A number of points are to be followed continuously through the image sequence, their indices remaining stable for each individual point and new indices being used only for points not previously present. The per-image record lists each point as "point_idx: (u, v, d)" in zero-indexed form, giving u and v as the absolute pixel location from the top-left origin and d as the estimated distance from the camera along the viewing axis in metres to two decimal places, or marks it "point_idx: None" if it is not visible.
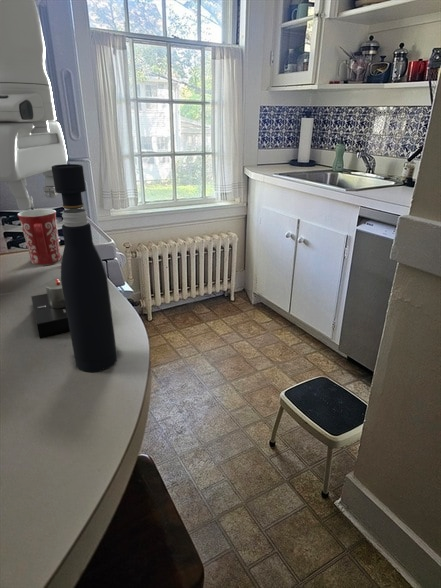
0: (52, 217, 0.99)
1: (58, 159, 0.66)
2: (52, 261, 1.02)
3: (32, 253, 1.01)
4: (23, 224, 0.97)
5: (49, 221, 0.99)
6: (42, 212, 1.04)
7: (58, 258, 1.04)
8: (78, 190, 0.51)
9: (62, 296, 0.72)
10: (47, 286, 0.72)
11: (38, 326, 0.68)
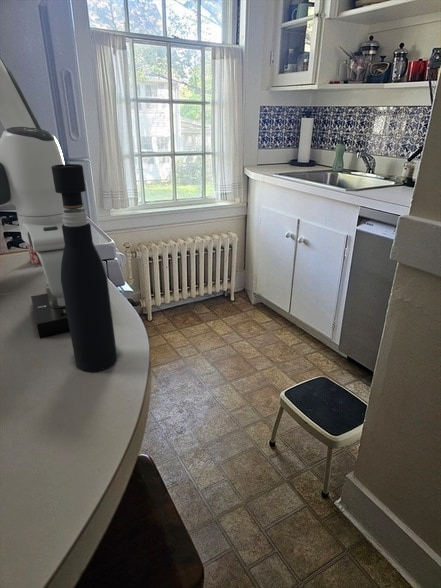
0: None
1: None
2: None
3: (32, 253, 1.01)
4: None
5: None
6: None
7: None
8: (78, 190, 0.51)
9: None
10: (47, 286, 0.72)
11: (38, 326, 0.68)
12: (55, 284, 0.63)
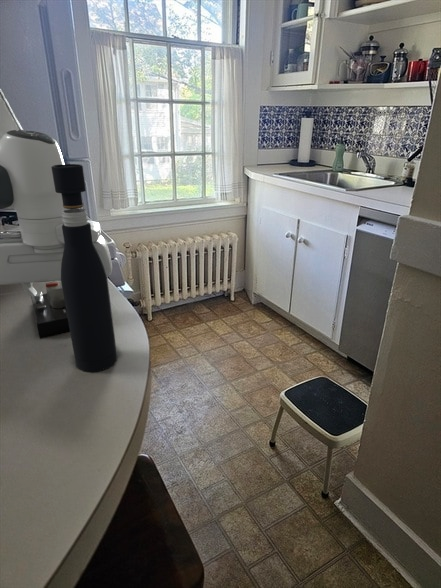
0: None
1: None
2: None
3: None
4: None
5: None
6: None
7: None
8: (78, 190, 0.51)
9: None
10: (57, 288, 0.72)
11: (38, 326, 0.68)
12: (110, 265, 0.73)
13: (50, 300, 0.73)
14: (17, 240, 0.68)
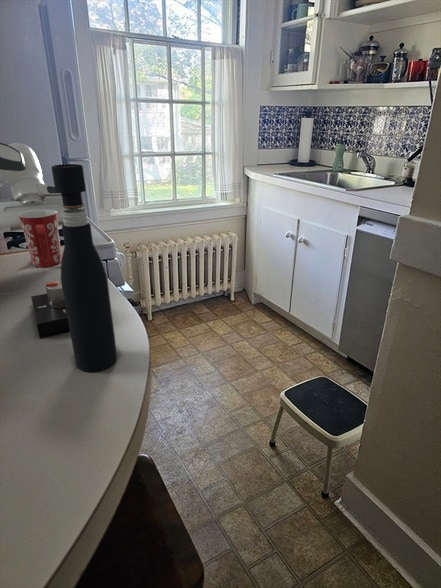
0: (54, 218, 0.99)
1: None
2: (54, 262, 1.02)
3: (33, 254, 1.00)
4: (24, 225, 0.96)
5: (51, 222, 0.98)
6: (43, 213, 1.03)
7: (59, 259, 1.03)
8: (78, 190, 0.51)
9: None
10: (57, 288, 0.72)
11: (38, 326, 0.68)
12: None
13: (50, 300, 0.73)
14: None
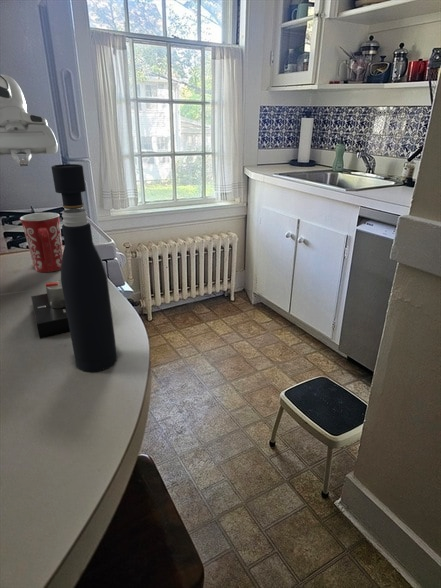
0: (56, 221, 0.96)
1: None
2: (57, 266, 0.99)
3: (36, 259, 0.97)
4: (26, 228, 0.93)
5: (53, 225, 0.95)
6: (44, 216, 1.00)
7: None
8: (78, 190, 0.51)
9: None
10: (57, 288, 0.72)
11: (38, 326, 0.68)
12: None
13: (50, 300, 0.73)
14: None
